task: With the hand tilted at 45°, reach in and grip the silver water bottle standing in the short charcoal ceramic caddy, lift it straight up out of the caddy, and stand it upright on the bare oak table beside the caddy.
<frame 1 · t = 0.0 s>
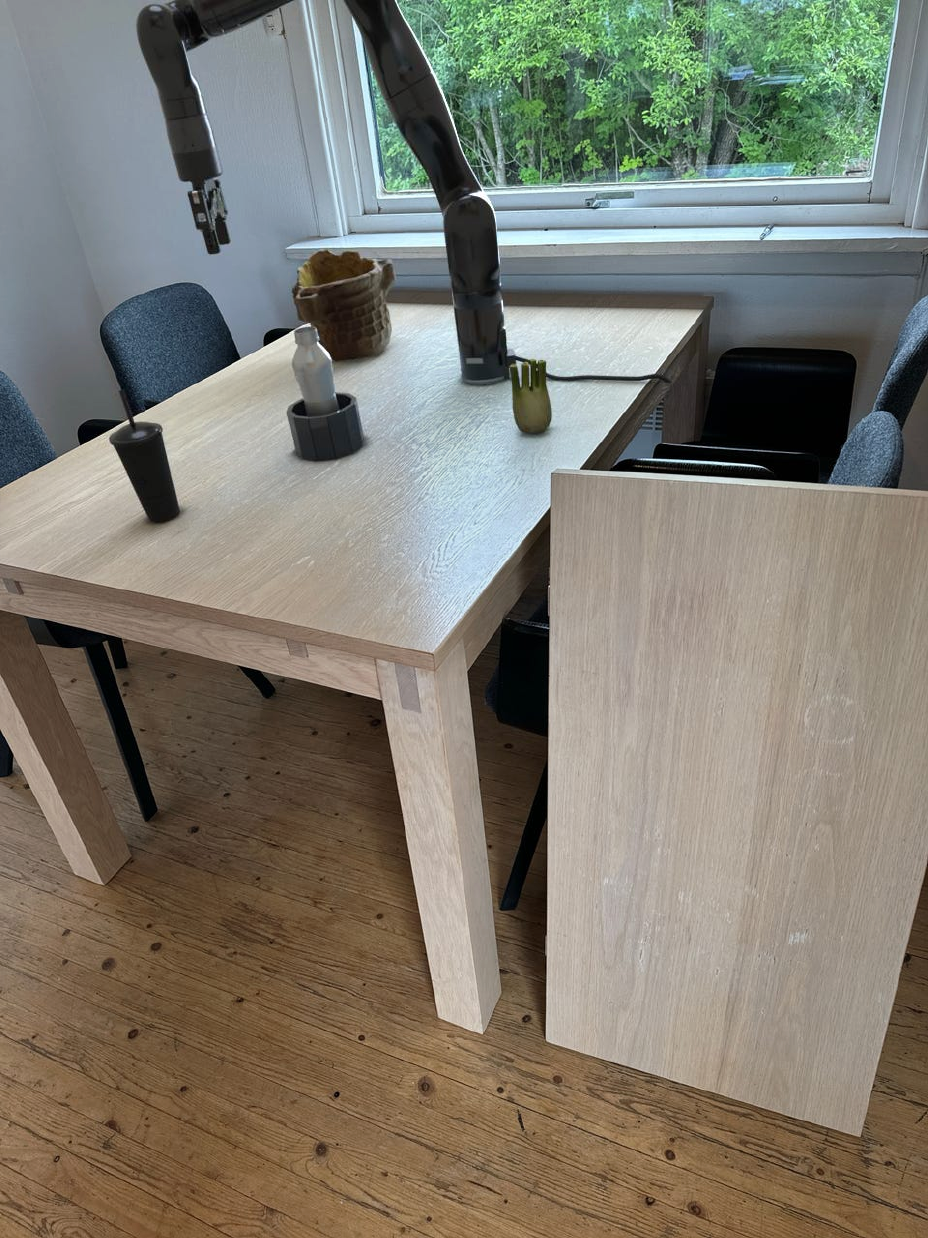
hand: (220, 248, 157), 29 cm above the table, tool pointing down, fingers open, 8 cm apart
caddy: (330, 446, 151), on the table
fennel bulb: (534, 432, 146), on the table
silver water bottle: (330, 447, 151), resting in caddy
drinking cup: (164, 516, 135), on the table
ceramic vessel: (351, 355, 194), on the table
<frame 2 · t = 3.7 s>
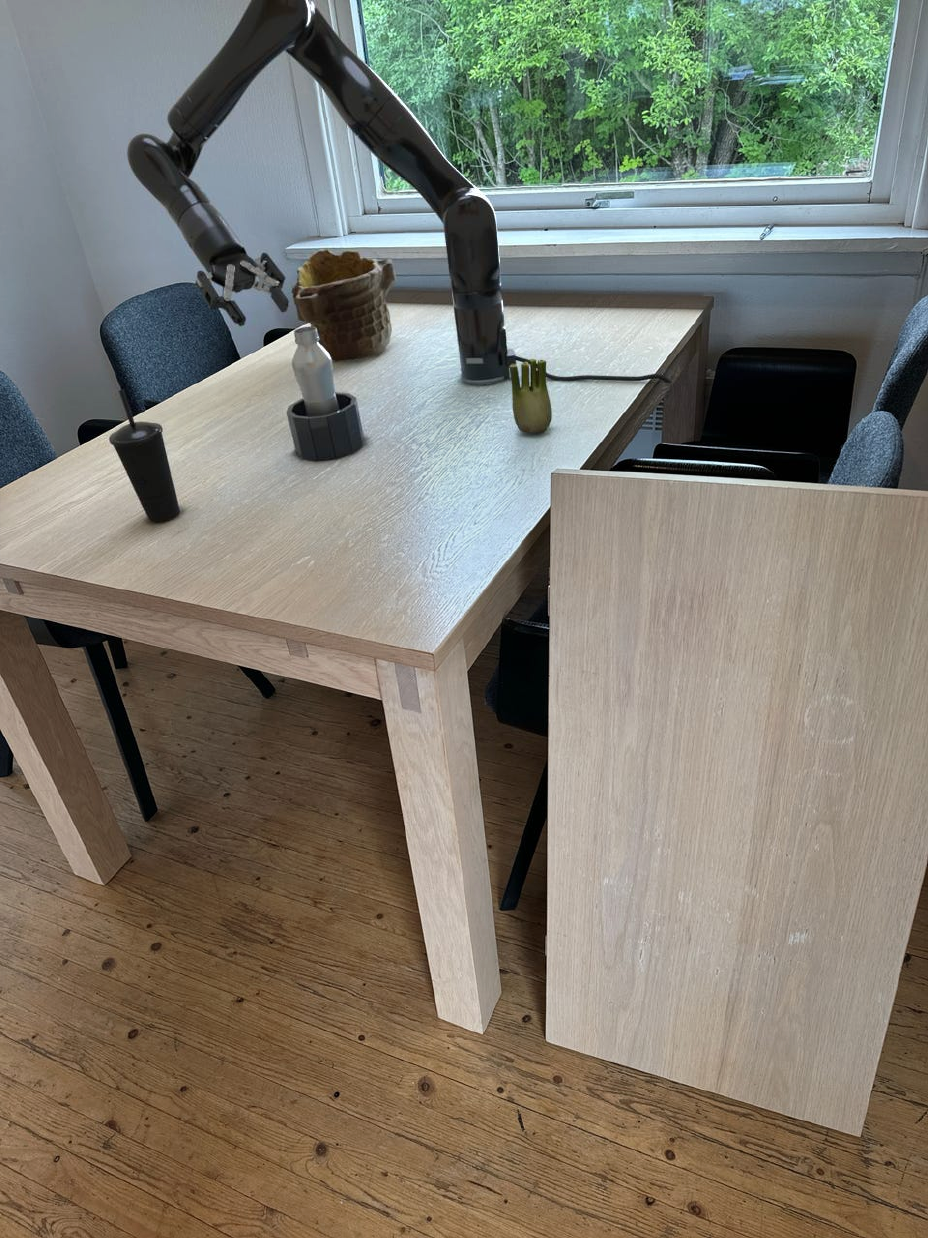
hand: (265, 315, 146), 21 cm above the table, tool tilted 45°, fingers open, 8 cm apart
nothing on the table moved.
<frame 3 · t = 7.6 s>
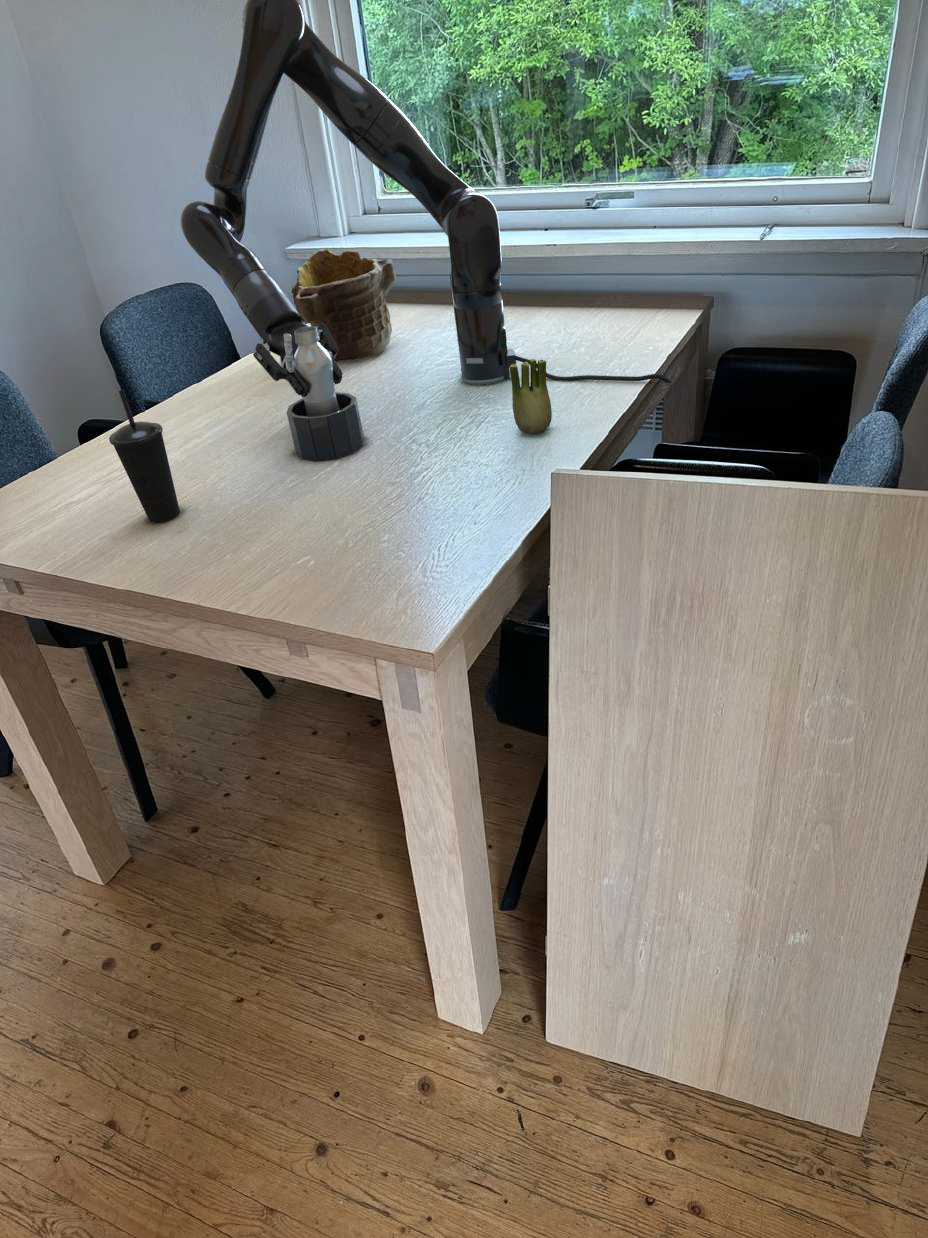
hand: (323, 387, 143), 11 cm above the table, tool tilted 45°, fingers closed on silver water bottle, 6 cm apart
silver water bottle: (330, 447, 151), resting in caddy, touching gripper
everything else where it was.
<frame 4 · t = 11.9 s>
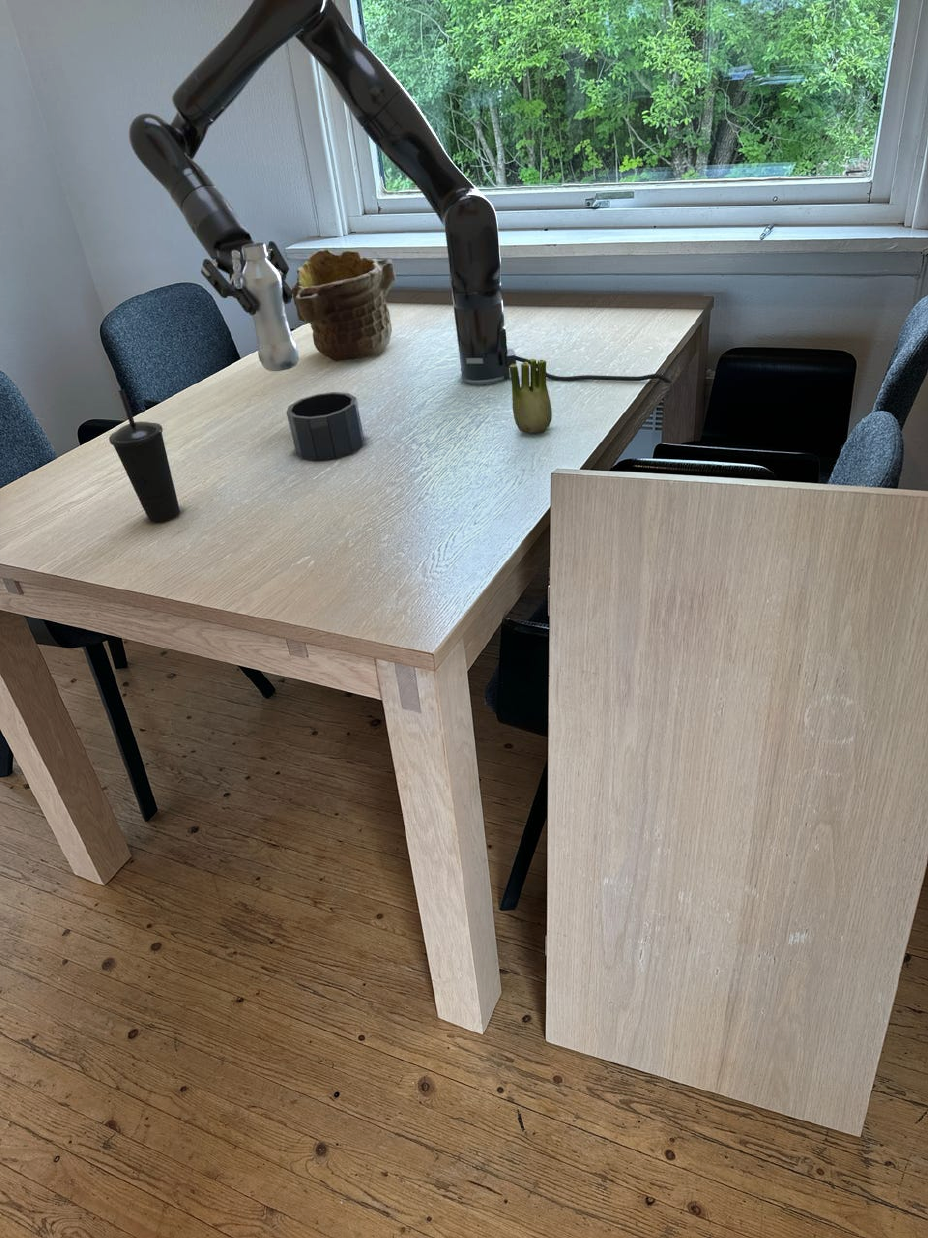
hand: (272, 305, 142), 23 cm above the table, tool tilted 45°, fingers closed on silver water bottle, 6 cm apart
silver water bottle: (282, 370, 149), point 12 cm above the table, touching gripper
everything else where it was.
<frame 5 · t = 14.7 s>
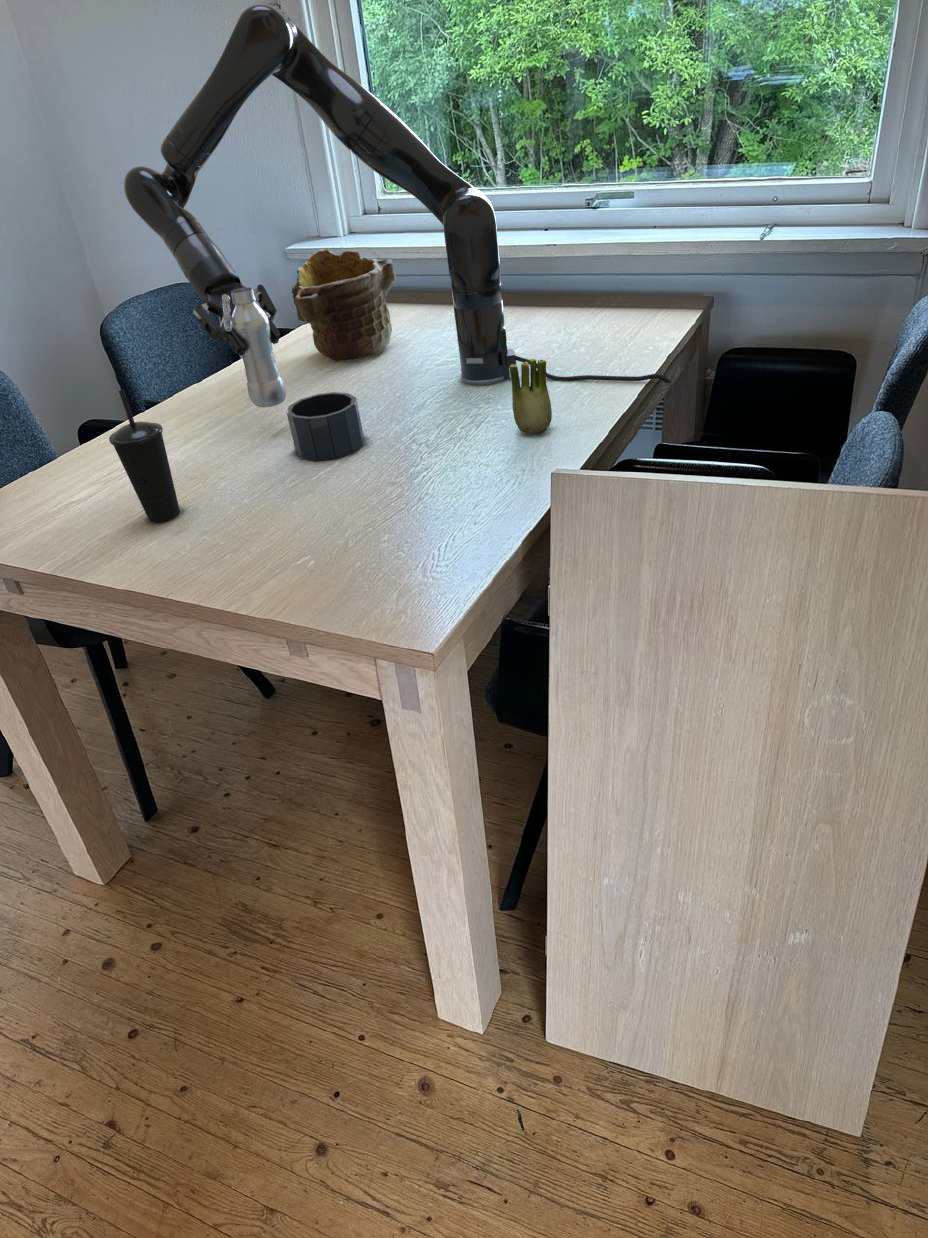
hand: (260, 346, 150), 16 cm above the table, tool tilted 45°, fingers closed on silver water bottle, 6 cm apart
silver water bottle: (270, 405, 157), point 5 cm above the table, touching gripper
everything else where it was.
when the fingers open (11 cm above the table, at t = 16.7 s): silver water bottle stays where it is, on the table.
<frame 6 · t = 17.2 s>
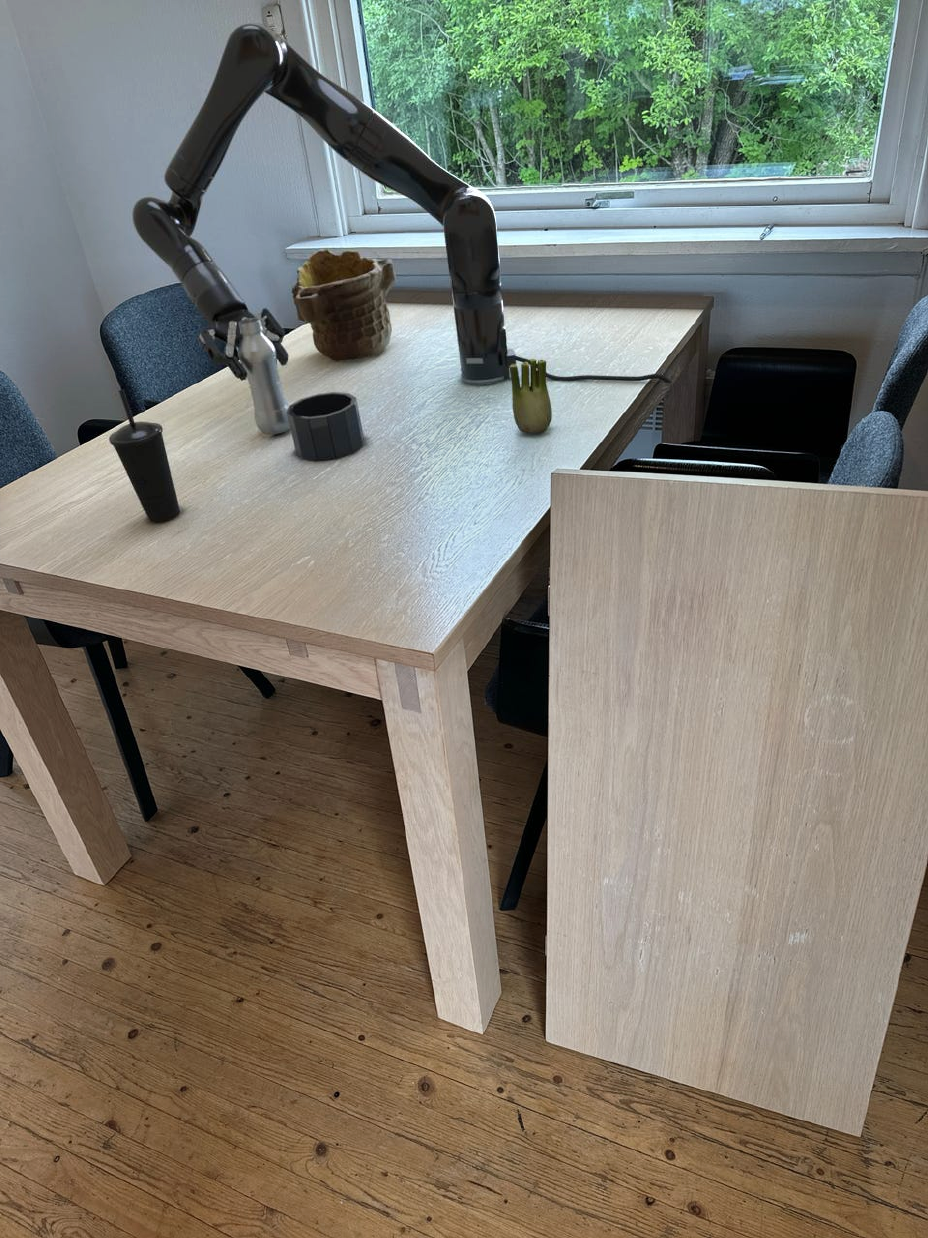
hand: (265, 369, 152), 12 cm above the table, tool tilted 45°, fingers open, 8 cm apart
silver water bottle: (277, 432, 160), on the table
everything else where it was.
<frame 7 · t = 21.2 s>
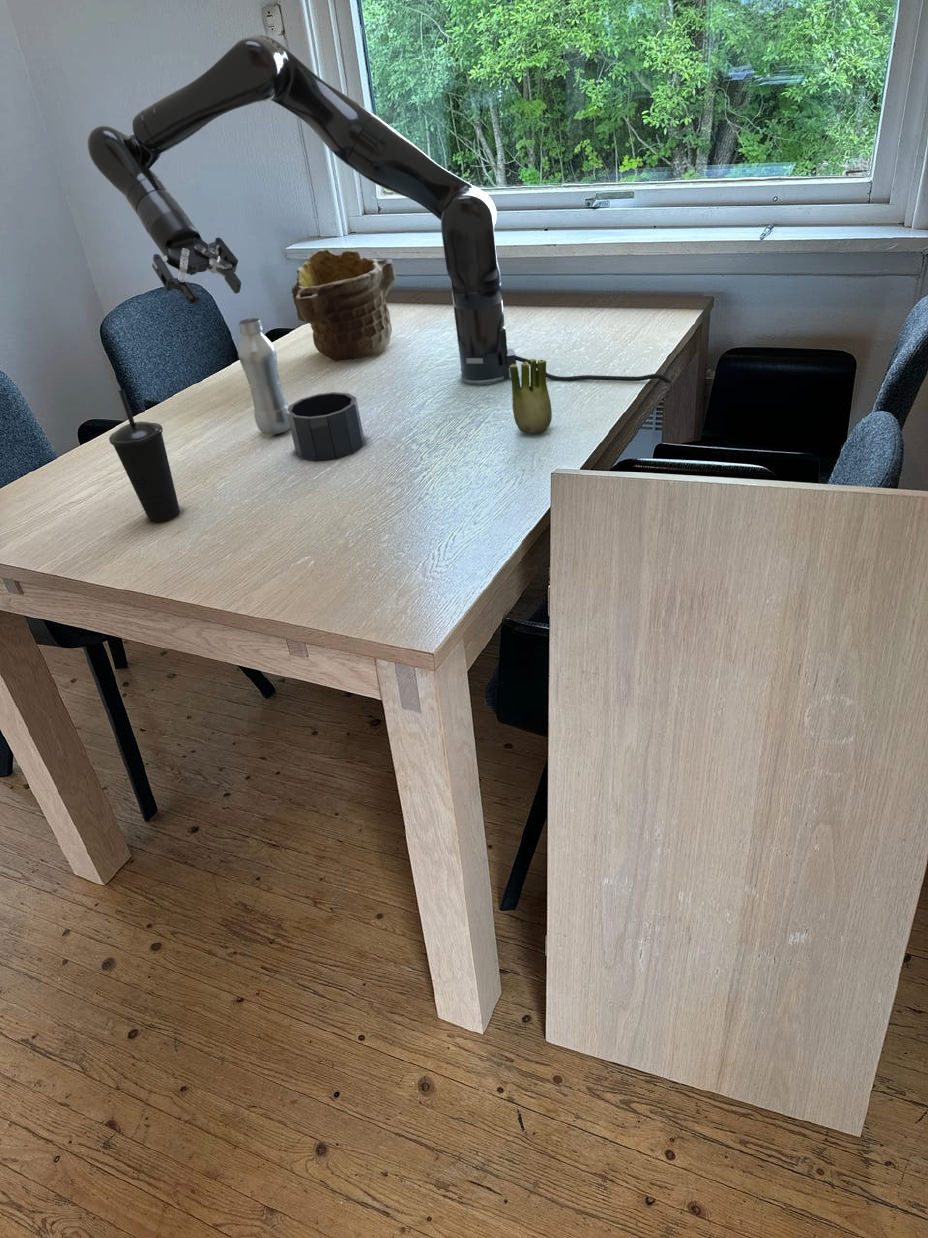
hand: (218, 296, 155), 23 cm above the table, tool tilted 45°, fingers open, 8 cm apart
nothing on the table moved.
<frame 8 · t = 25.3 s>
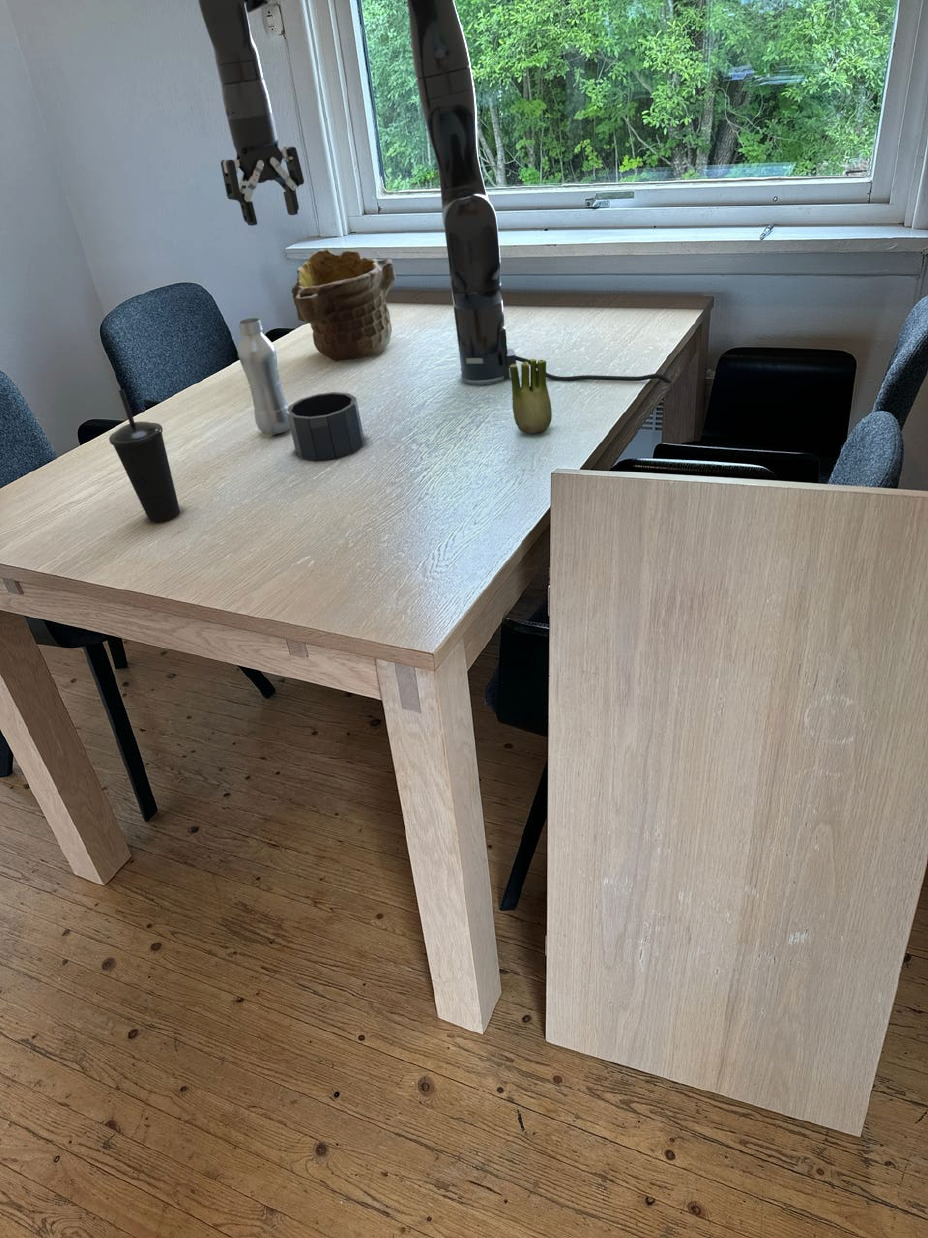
hand: (273, 219, 152), 33 cm above the table, tool pointing down, fingers open, 8 cm apart
nothing on the table moved.
at the end: silver water bottle inside the target area (0.2 cm from its centre), on the table; silver water bottle tilted 0°; silver water bottle touching table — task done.
